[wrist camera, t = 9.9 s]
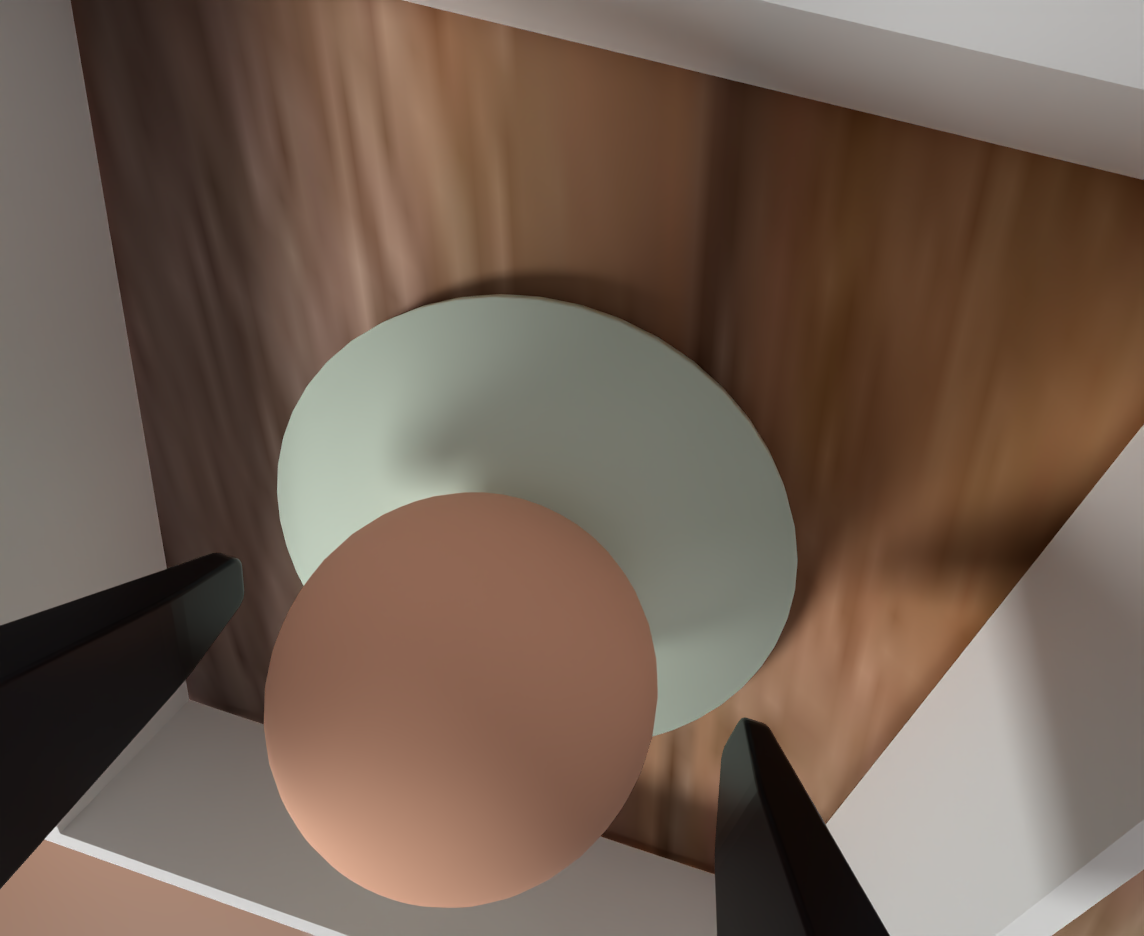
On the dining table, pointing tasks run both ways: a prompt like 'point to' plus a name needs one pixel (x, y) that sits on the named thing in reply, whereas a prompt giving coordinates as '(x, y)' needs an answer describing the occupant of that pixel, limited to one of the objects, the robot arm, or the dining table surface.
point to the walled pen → (599, 496)
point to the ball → (460, 700)
